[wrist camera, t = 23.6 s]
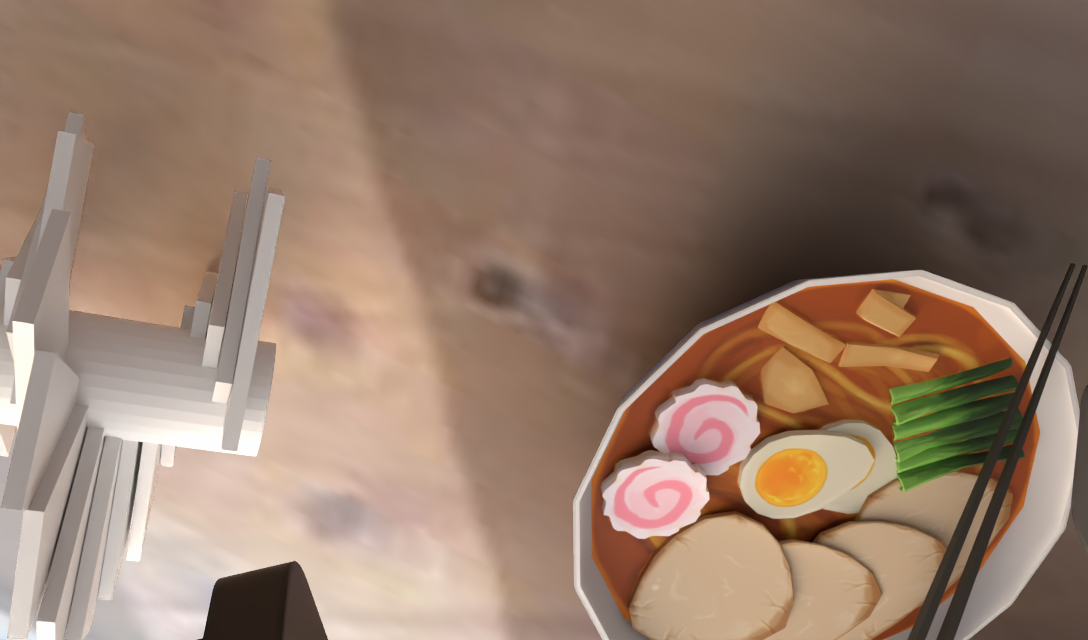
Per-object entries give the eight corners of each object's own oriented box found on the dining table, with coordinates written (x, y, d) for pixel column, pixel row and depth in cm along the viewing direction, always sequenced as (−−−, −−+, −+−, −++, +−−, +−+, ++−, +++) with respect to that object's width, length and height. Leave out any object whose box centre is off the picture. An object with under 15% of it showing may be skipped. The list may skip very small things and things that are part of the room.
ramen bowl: (598, 148, 42) (646, 216, 35) (1072, 212, 47) (1202, 284, 40) (501, 616, 52) (523, 744, 45) (899, 628, 57) (977, 746, 50)
